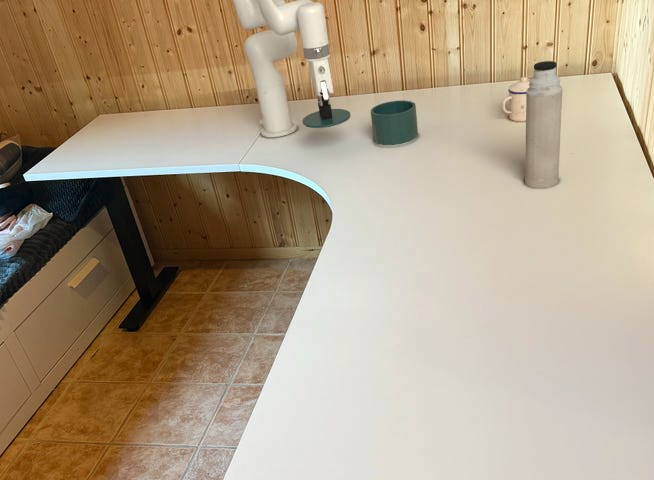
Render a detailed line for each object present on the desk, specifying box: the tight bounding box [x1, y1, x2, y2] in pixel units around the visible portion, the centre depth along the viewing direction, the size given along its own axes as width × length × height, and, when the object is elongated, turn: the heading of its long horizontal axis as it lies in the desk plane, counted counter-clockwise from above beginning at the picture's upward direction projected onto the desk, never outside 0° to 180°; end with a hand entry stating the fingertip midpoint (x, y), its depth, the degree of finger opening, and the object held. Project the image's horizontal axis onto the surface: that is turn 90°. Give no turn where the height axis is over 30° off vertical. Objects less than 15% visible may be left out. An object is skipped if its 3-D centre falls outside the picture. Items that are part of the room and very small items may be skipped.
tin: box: [370, 99, 419, 146], centre depth 204 cm, size 14×14×10 cm
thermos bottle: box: [524, 60, 563, 189], centre depth 158 cm, size 8×8×28 cm
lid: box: [301, 101, 352, 129], centre depth 199 cm, size 15×15×6 cm
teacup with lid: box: [501, 76, 530, 122], centre depth 202 cm, size 12×9×12 cm
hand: (326, 116), depth 200 cm, fingers closed on lid, 2 cm apart
